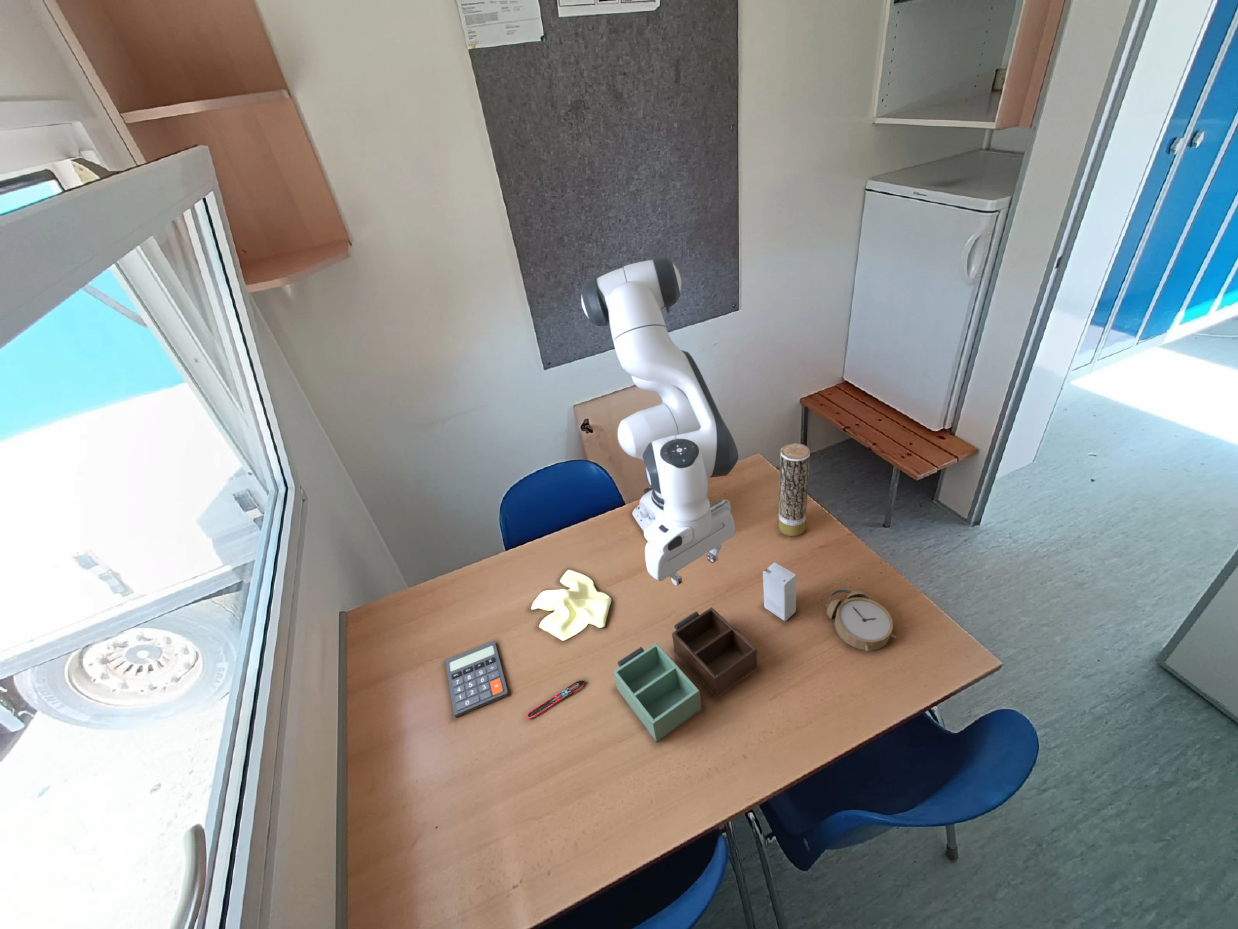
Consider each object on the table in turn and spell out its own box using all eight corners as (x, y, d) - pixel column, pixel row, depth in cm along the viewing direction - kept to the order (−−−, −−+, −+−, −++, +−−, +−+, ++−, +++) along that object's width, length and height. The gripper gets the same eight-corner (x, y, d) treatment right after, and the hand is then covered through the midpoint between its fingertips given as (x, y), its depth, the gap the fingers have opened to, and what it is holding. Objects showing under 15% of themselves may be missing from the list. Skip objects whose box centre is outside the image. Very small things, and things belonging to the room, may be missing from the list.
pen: (524, 715, 116) (523, 713, 116) (582, 678, 121) (582, 676, 121) (528, 722, 115) (527, 720, 114) (587, 684, 120) (586, 683, 119)
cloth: (623, 619, 133) (619, 602, 129) (549, 653, 128) (543, 636, 124) (589, 561, 150) (585, 544, 146) (523, 589, 145) (517, 572, 142)
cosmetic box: (796, 611, 128) (798, 574, 121) (784, 623, 126) (785, 585, 119) (774, 597, 132) (775, 560, 125) (762, 608, 130) (762, 571, 123)
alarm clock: (861, 651, 114) (816, 593, 124) (855, 662, 117) (812, 605, 128) (906, 630, 116) (858, 575, 126) (899, 642, 120) (853, 587, 130)
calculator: (453, 715, 117) (445, 659, 129) (454, 717, 118) (446, 662, 130) (507, 692, 120) (494, 640, 132) (508, 694, 120) (495, 642, 132)
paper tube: (809, 526, 149) (815, 448, 135) (796, 541, 145) (801, 462, 131) (786, 517, 153) (789, 440, 139) (773, 531, 150) (775, 453, 135)
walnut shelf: (757, 668, 117) (757, 649, 114) (716, 698, 113) (715, 679, 110) (705, 618, 130) (703, 599, 126) (666, 643, 126) (664, 624, 122)
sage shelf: (701, 709, 112) (699, 690, 108) (656, 742, 108) (652, 723, 104) (652, 653, 124) (649, 634, 120) (610, 680, 120) (605, 662, 116)
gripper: (718, 489, 114) (723, 540, 122) (636, 535, 106) (646, 587, 114) (740, 502, 110) (743, 554, 117) (656, 552, 102) (665, 605, 109)
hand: (695, 571), depth 115 cm, fingers open, 8 cm apart
